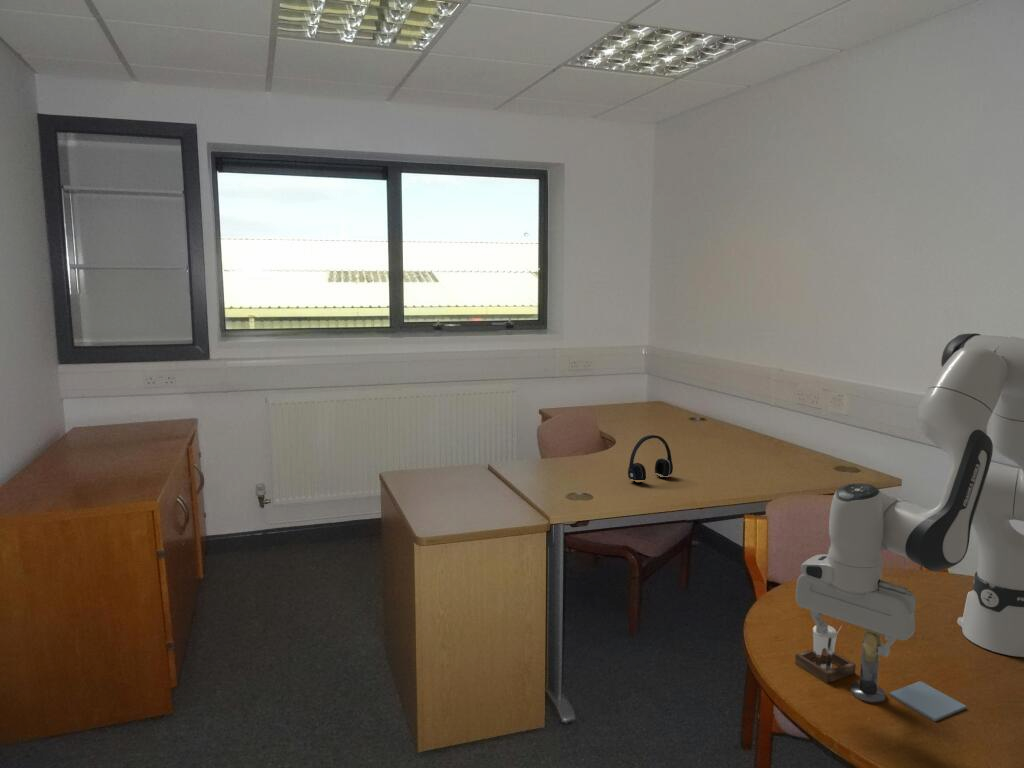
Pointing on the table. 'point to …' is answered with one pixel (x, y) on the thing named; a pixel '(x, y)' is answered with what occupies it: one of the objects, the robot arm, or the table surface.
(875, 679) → the latch post
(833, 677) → the brown square frame
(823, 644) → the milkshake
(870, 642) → the lever
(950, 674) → the table surface
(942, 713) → the pad
